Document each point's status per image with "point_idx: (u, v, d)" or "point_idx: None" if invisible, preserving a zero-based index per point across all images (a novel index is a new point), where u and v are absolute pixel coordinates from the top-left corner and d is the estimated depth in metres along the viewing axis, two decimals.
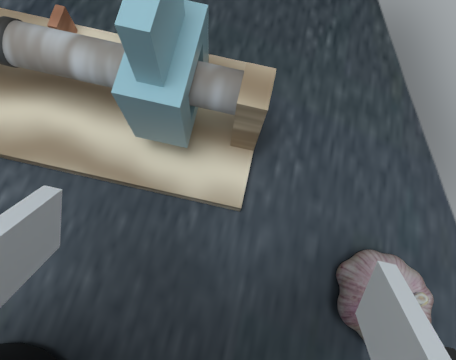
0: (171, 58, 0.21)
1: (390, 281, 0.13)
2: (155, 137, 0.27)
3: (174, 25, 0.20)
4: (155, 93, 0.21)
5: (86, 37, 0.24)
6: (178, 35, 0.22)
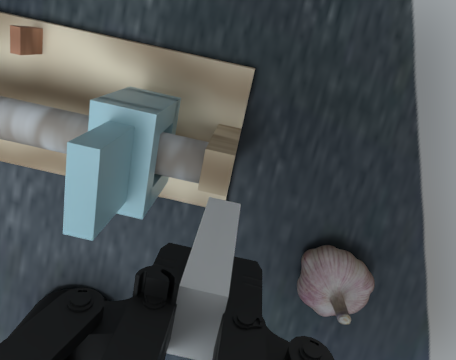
0: (128, 177, 0.23)
1: (223, 213, 0.16)
2: None
3: (122, 165, 0.21)
4: None
5: (50, 120, 0.25)
6: (131, 152, 0.22)
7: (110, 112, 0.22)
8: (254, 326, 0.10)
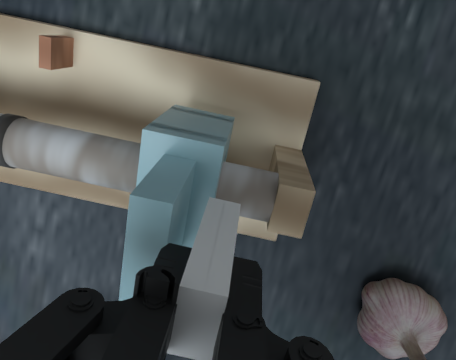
0: (185, 220, 0.19)
1: (223, 213, 0.16)
2: None
3: (184, 210, 0.17)
4: None
5: (92, 150, 0.21)
6: (191, 191, 0.18)
7: (166, 144, 0.18)
8: (254, 326, 0.10)
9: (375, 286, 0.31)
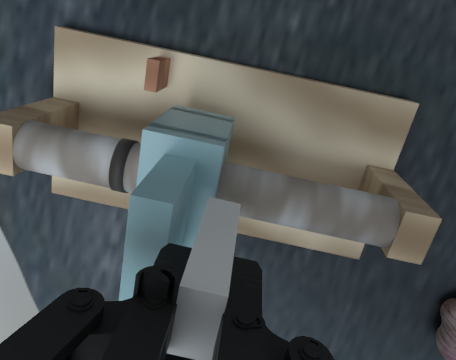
0: (186, 220, 0.19)
1: (223, 213, 0.16)
2: None
3: (184, 210, 0.17)
4: None
5: None
6: (191, 191, 0.18)
7: (166, 144, 0.18)
8: (254, 326, 0.10)
9: None
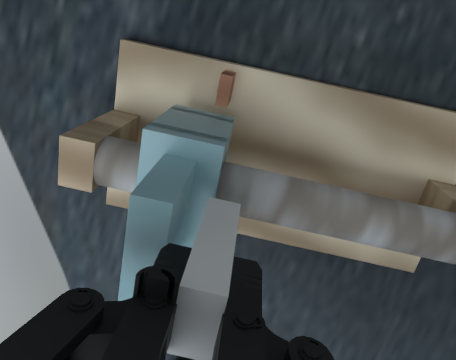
0: (185, 220, 0.19)
1: (223, 213, 0.16)
2: None
3: (184, 210, 0.17)
4: None
5: (295, 195, 0.21)
6: (191, 191, 0.18)
7: (166, 144, 0.18)
8: (254, 326, 0.10)
9: None
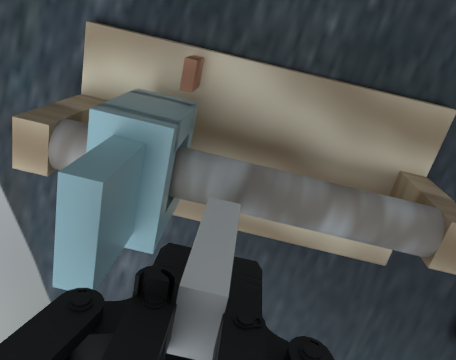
0: (136, 204, 0.18)
1: (224, 213, 0.16)
2: None
3: (130, 193, 0.17)
4: None
5: (255, 182, 0.20)
6: (140, 174, 0.18)
7: (114, 125, 0.17)
8: (254, 326, 0.10)
9: None
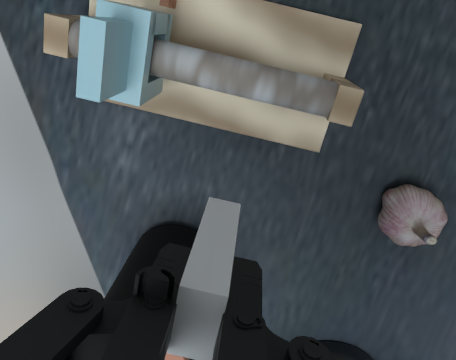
0: (127, 67, 0.28)
1: (223, 213, 0.16)
2: None
3: (123, 52, 0.26)
4: (120, 95, 0.29)
5: (208, 59, 0.30)
6: (130, 45, 0.27)
7: (113, 10, 0.27)
8: (254, 326, 0.10)
9: (393, 190, 0.40)
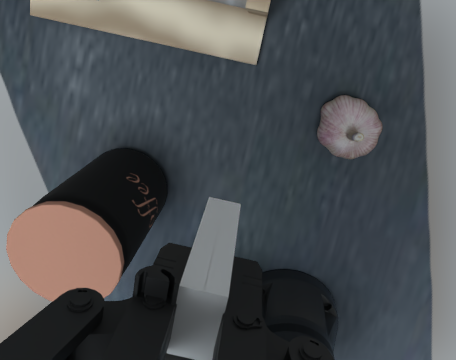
0: None
1: (223, 213, 0.16)
2: None
3: None
4: None
5: None
6: None
7: None
8: (254, 326, 0.10)
9: (330, 101, 0.42)
